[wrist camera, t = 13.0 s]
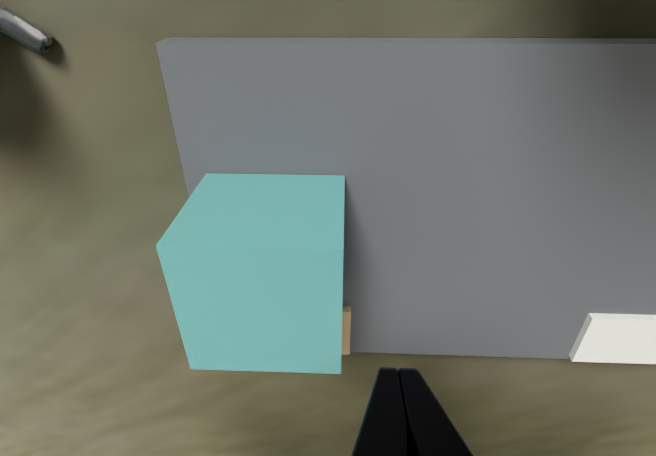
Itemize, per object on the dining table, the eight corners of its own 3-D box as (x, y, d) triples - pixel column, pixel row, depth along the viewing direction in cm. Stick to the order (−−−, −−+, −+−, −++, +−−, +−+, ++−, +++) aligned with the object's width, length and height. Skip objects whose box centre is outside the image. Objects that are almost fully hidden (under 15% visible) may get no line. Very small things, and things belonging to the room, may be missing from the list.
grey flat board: (896, 38, 11) (956, 46, 10) (687, 344, 18) (710, 369, 16) (169, 37, 12) (151, 44, 11) (226, 330, 18) (218, 353, 17)
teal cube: (344, 175, 13) (343, 250, 9) (342, 283, 15) (341, 373, 12) (205, 173, 13) (155, 245, 10) (225, 280, 15) (190, 368, 12)
